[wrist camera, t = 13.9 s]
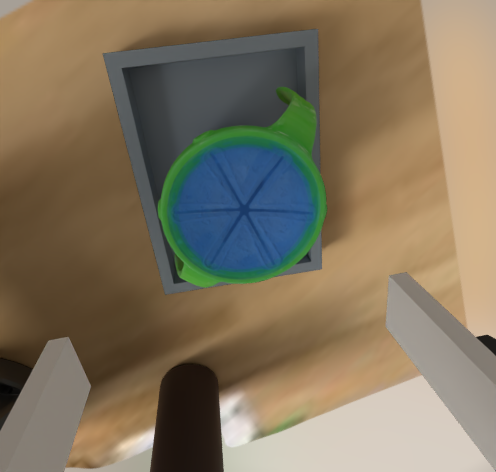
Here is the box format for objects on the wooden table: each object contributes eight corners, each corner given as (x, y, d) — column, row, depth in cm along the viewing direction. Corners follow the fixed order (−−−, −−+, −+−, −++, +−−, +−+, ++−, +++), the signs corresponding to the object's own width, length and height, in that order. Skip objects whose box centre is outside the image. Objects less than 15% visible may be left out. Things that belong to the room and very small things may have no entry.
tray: (167, 277, 35) (165, 294, 33) (112, 55, 26) (102, 53, 24) (312, 254, 36) (321, 269, 34) (306, 32, 27) (318, 28, 25)
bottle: (170, 408, 43) (150, 649, 25) (152, 370, 40) (116, 612, 22) (223, 395, 43) (241, 624, 26) (210, 355, 40) (219, 584, 22)
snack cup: (225, 264, 35) (234, 333, 26) (131, 205, 31) (103, 261, 22) (333, 138, 31) (390, 167, 22) (240, 51, 27) (262, 43, 18)
